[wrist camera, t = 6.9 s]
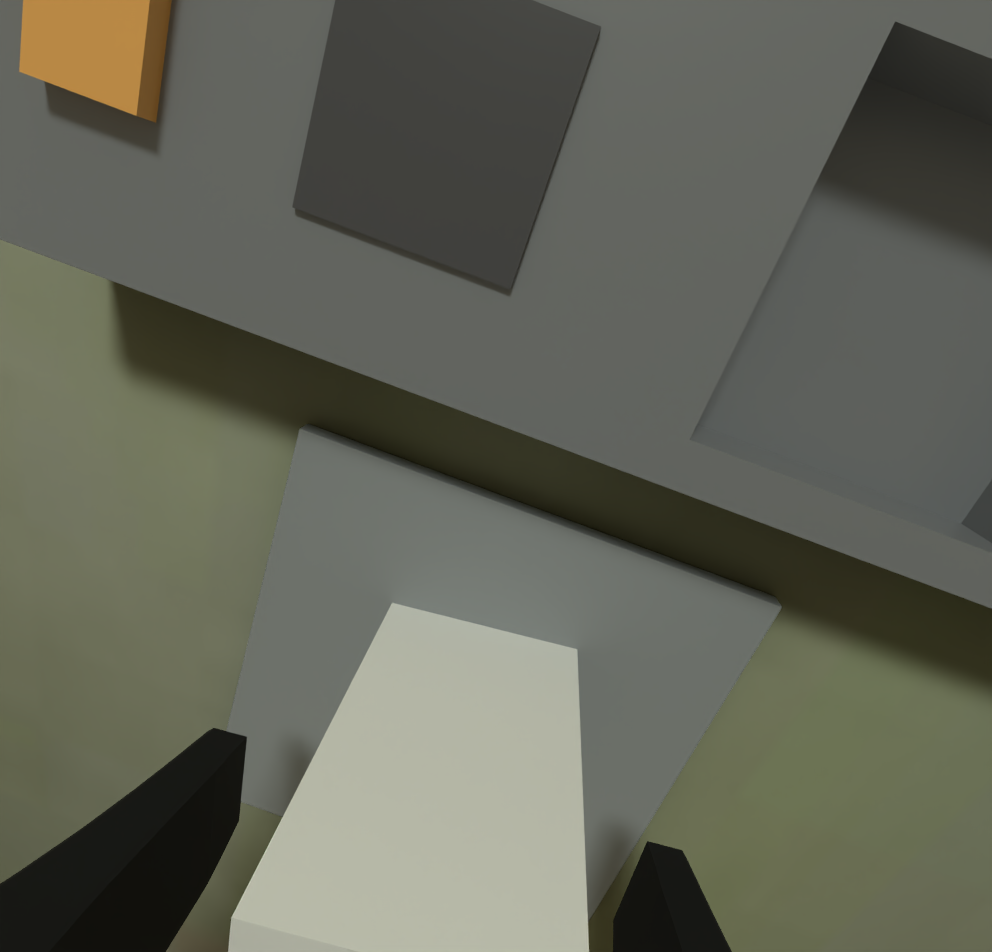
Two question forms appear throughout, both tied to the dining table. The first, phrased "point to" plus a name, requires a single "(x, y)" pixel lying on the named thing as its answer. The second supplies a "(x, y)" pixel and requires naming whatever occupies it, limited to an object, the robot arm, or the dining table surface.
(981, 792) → the dining table surface
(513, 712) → the block
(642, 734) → the pad
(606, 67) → the power strip
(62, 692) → the dining table surface
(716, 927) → the robot arm
